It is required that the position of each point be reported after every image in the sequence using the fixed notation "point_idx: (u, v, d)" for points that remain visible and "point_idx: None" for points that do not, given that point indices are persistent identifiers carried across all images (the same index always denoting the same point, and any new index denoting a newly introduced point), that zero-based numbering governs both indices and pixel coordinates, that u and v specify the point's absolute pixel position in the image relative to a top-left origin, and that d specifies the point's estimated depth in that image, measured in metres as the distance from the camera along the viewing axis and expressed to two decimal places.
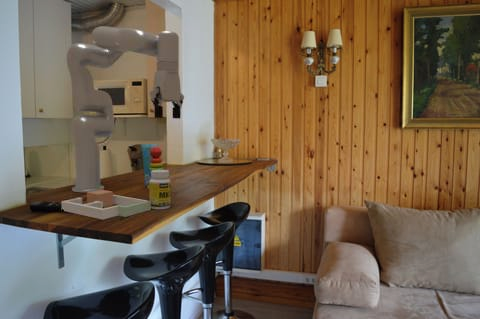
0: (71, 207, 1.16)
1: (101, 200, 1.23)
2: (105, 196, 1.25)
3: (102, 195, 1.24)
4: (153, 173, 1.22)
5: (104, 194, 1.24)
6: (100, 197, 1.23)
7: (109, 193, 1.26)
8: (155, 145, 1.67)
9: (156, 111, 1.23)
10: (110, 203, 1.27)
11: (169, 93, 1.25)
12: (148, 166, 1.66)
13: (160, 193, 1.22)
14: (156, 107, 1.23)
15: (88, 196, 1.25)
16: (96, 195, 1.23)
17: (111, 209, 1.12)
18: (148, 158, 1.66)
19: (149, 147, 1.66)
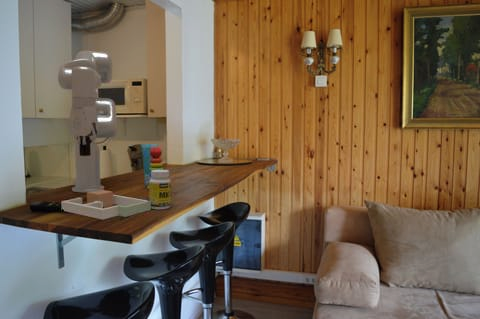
0: (71, 207, 1.16)
1: (101, 200, 1.23)
2: (105, 196, 1.25)
3: (102, 195, 1.24)
4: (153, 173, 1.22)
5: (104, 194, 1.24)
6: (100, 197, 1.23)
7: (109, 193, 1.26)
8: (155, 145, 1.67)
9: (87, 149, 1.28)
10: (110, 203, 1.27)
11: None
12: (148, 166, 1.66)
13: (160, 193, 1.22)
14: (87, 146, 1.27)
15: (88, 196, 1.25)
16: (96, 195, 1.23)
17: (111, 209, 1.12)
18: (148, 158, 1.66)
19: (149, 147, 1.66)
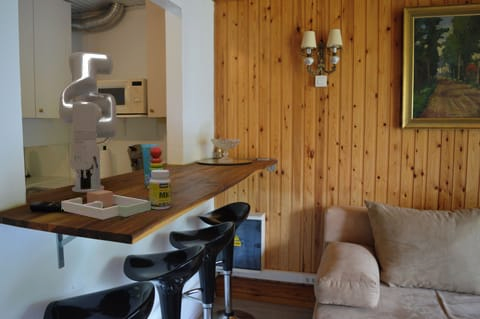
0: (71, 207, 1.16)
1: (101, 200, 1.23)
2: (105, 196, 1.25)
3: (102, 195, 1.24)
4: (153, 173, 1.22)
5: (104, 194, 1.24)
6: (100, 196, 1.23)
7: (109, 193, 1.26)
8: (155, 145, 1.67)
9: (88, 183, 1.28)
10: (110, 203, 1.27)
11: None
12: (148, 166, 1.66)
13: (160, 193, 1.22)
14: (88, 179, 1.28)
15: (88, 196, 1.25)
16: (96, 195, 1.23)
17: (111, 209, 1.12)
18: (148, 158, 1.66)
19: (149, 147, 1.66)
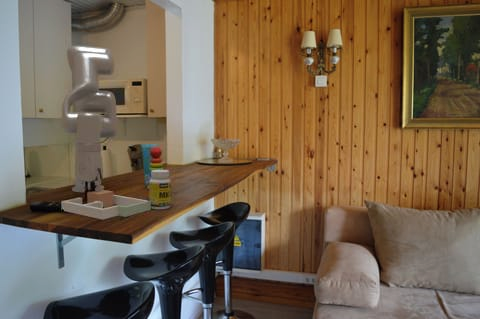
0: (71, 207, 1.16)
1: (101, 200, 1.23)
2: (105, 196, 1.24)
3: (102, 195, 1.23)
4: (153, 173, 1.22)
5: (104, 194, 1.24)
6: (100, 196, 1.23)
7: (109, 193, 1.26)
8: (155, 145, 1.67)
9: None
10: (110, 203, 1.27)
11: None
12: (148, 166, 1.66)
13: (160, 193, 1.22)
14: (92, 190, 1.28)
15: (88, 196, 1.25)
16: (96, 195, 1.23)
17: (111, 209, 1.12)
18: (148, 158, 1.66)
19: (149, 147, 1.66)
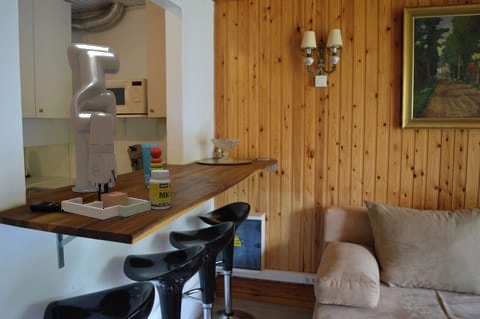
0: (71, 207, 1.16)
1: (116, 202, 1.20)
2: (120, 198, 1.21)
3: (117, 197, 1.20)
4: (153, 173, 1.22)
5: (119, 196, 1.21)
6: (115, 199, 1.19)
7: (124, 195, 1.22)
8: (155, 145, 1.67)
9: None
10: (124, 205, 1.23)
11: None
12: (148, 166, 1.66)
13: (160, 193, 1.22)
14: None
15: (102, 198, 1.21)
16: (110, 197, 1.19)
17: (111, 209, 1.12)
18: (148, 158, 1.66)
19: (149, 147, 1.66)
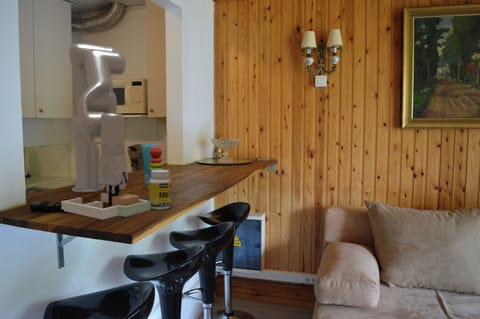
0: (71, 207, 1.16)
1: (128, 205, 1.17)
2: (131, 200, 1.19)
3: (129, 199, 1.18)
4: (153, 173, 1.22)
5: (131, 198, 1.18)
6: (127, 201, 1.17)
7: (135, 197, 1.20)
8: (155, 145, 1.67)
9: None
10: None
11: None
12: (148, 166, 1.66)
13: (160, 193, 1.22)
14: (116, 195, 1.22)
15: (113, 201, 1.19)
16: (123, 200, 1.17)
17: (111, 209, 1.12)
18: (148, 158, 1.66)
19: (149, 147, 1.66)
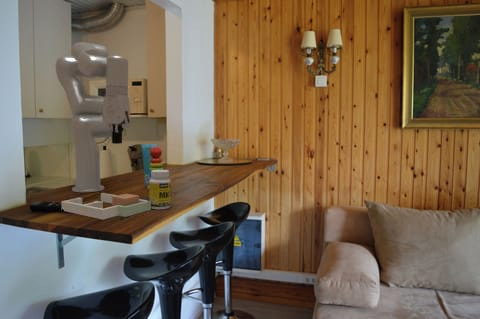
0: (71, 207, 1.16)
1: (128, 205, 1.17)
2: (132, 200, 1.19)
3: (129, 199, 1.18)
4: (153, 173, 1.22)
5: (131, 198, 1.18)
6: (127, 201, 1.17)
7: (135, 197, 1.20)
8: (155, 145, 1.67)
9: (119, 137, 1.30)
10: None
11: None
12: (148, 166, 1.66)
13: (160, 193, 1.22)
14: (119, 134, 1.30)
15: (114, 200, 1.19)
16: (123, 199, 1.17)
17: (111, 209, 1.12)
18: (148, 158, 1.66)
19: (149, 147, 1.66)
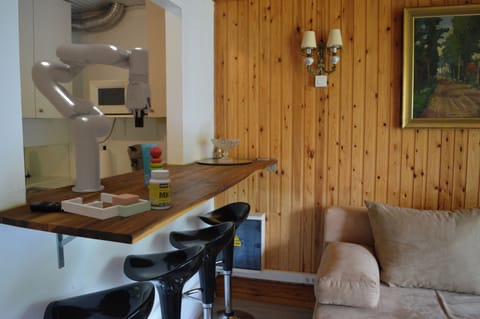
0: (71, 207, 1.16)
1: (128, 205, 1.17)
2: (132, 200, 1.19)
3: (129, 199, 1.18)
4: (153, 173, 1.22)
5: (131, 198, 1.18)
6: (127, 201, 1.17)
7: (135, 197, 1.20)
8: (155, 145, 1.67)
9: (141, 122, 1.43)
10: None
11: None
12: (148, 166, 1.66)
13: (160, 193, 1.22)
14: (141, 118, 1.43)
15: (114, 200, 1.19)
16: (123, 199, 1.17)
17: (111, 209, 1.12)
18: (148, 158, 1.66)
19: (149, 147, 1.66)
